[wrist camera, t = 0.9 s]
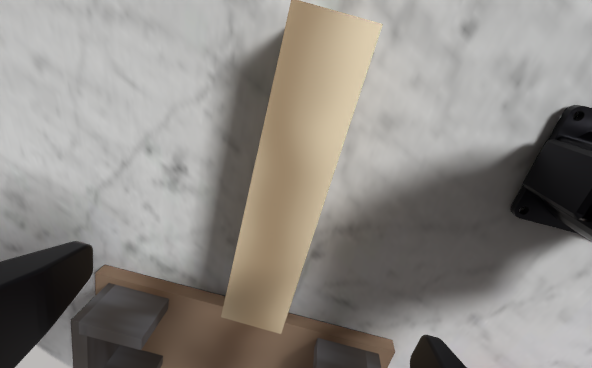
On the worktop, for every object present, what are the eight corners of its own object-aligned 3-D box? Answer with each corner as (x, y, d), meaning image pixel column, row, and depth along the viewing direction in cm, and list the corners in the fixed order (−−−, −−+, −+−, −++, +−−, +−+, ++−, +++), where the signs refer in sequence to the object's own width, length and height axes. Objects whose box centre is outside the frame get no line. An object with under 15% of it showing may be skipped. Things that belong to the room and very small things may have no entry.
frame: (392, 340, 23) (406, 402, 19) (359, 408, 26) (365, 475, 22) (104, 264, 23) (54, 309, 19) (104, 341, 26) (61, 394, 22)
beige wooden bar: (367, 36, 16) (382, 24, 11) (291, 277, 22) (281, 334, 17) (302, 18, 16) (291, -2, 11) (243, 264, 22) (221, 317, 17)
